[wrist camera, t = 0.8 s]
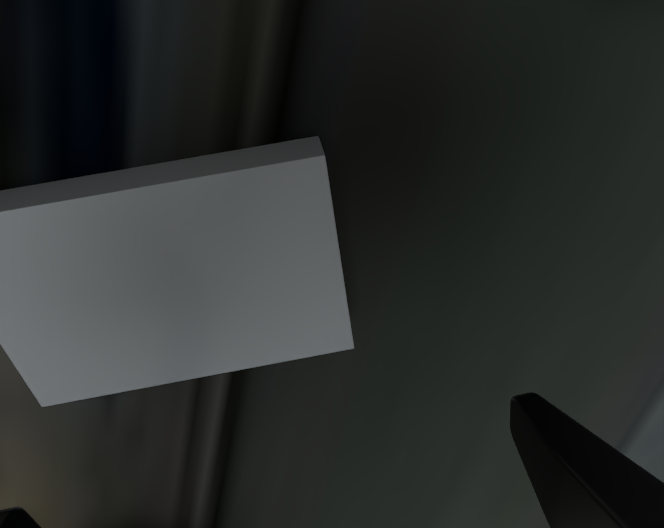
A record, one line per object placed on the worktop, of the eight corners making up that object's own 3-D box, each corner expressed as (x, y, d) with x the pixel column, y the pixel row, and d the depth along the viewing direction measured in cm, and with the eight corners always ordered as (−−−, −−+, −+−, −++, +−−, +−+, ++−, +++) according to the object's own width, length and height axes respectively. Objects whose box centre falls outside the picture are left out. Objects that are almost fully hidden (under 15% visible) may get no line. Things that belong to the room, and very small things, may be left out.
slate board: (344, 309, 24) (354, 348, 21) (66, 360, 23) (41, 407, 21) (317, 132, 19) (324, 155, 17) (-31, 192, 19) (-78, 225, 16)
